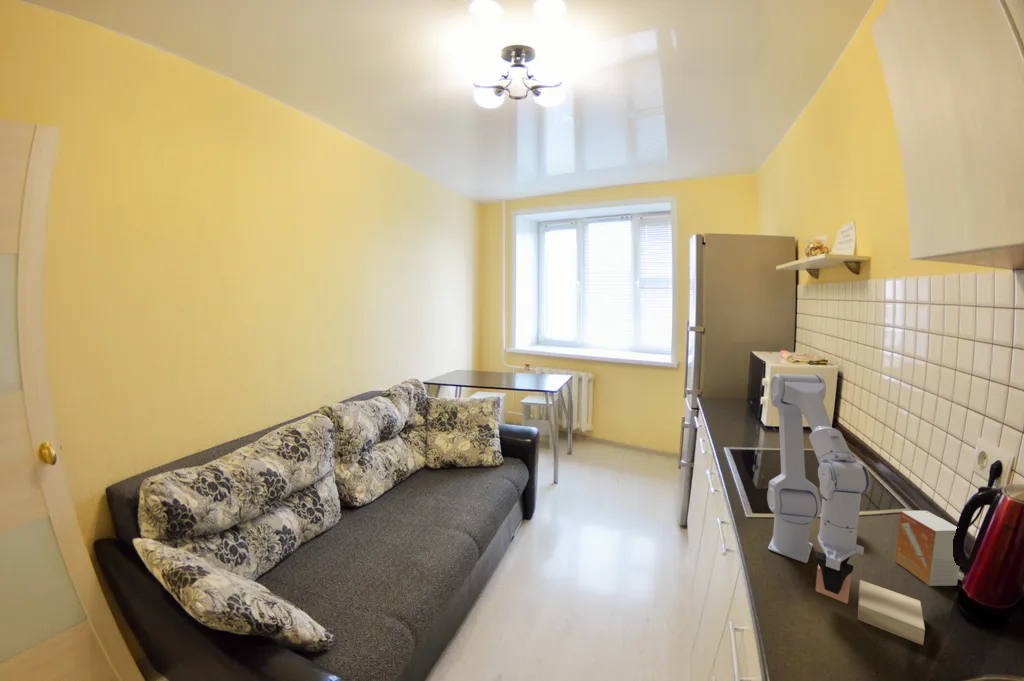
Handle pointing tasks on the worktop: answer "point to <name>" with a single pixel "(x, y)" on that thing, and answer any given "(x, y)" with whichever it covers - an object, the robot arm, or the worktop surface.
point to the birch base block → (891, 612)
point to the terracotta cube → (841, 596)
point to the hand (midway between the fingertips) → (833, 583)
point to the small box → (927, 548)
